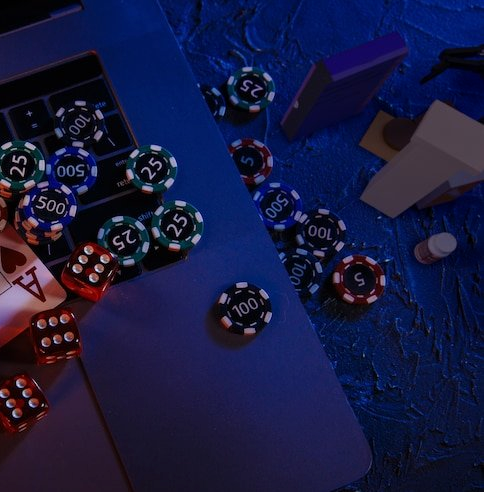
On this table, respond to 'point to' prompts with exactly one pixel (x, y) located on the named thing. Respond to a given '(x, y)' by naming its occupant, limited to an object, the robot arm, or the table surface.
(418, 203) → the small box
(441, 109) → the stand
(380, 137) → the mat
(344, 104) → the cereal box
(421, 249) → the pill bottle
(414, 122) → the paddle
